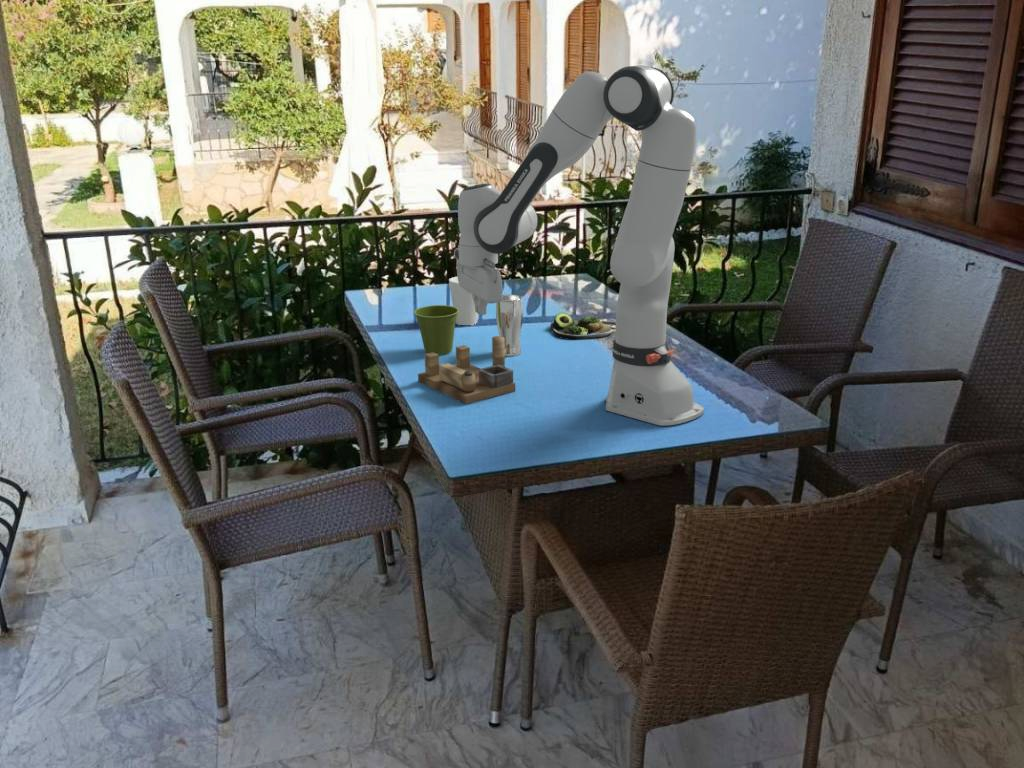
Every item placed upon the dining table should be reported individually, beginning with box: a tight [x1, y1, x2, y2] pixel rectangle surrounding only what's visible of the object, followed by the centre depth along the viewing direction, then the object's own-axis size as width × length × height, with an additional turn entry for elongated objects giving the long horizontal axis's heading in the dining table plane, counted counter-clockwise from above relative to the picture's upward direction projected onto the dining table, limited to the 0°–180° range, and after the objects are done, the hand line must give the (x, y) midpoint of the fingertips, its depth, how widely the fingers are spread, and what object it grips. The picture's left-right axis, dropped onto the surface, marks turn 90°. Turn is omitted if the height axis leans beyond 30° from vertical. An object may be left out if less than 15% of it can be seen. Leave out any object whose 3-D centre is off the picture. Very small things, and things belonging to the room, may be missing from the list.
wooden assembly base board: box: [417, 344, 516, 405], centre depth 218 cm, size 20×14×7 cm
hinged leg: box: [439, 362, 475, 392], centre depth 213 cm, size 12×3×4 cm, turn 38°
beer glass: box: [495, 294, 524, 357], centre depth 241 cm, size 7×7×15 cm
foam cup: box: [448, 276, 479, 326], centre depth 269 cm, size 10×9×13 cm
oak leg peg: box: [491, 335, 506, 367], centre depth 227 cm, size 3×3×9 cm
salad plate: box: [550, 312, 616, 340], centre depth 263 cm, size 19×18×5 cm
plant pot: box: [413, 304, 459, 356], centre depth 243 cm, size 12×12×11 cm
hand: (480, 313), depth 218 cm, fingers closed
